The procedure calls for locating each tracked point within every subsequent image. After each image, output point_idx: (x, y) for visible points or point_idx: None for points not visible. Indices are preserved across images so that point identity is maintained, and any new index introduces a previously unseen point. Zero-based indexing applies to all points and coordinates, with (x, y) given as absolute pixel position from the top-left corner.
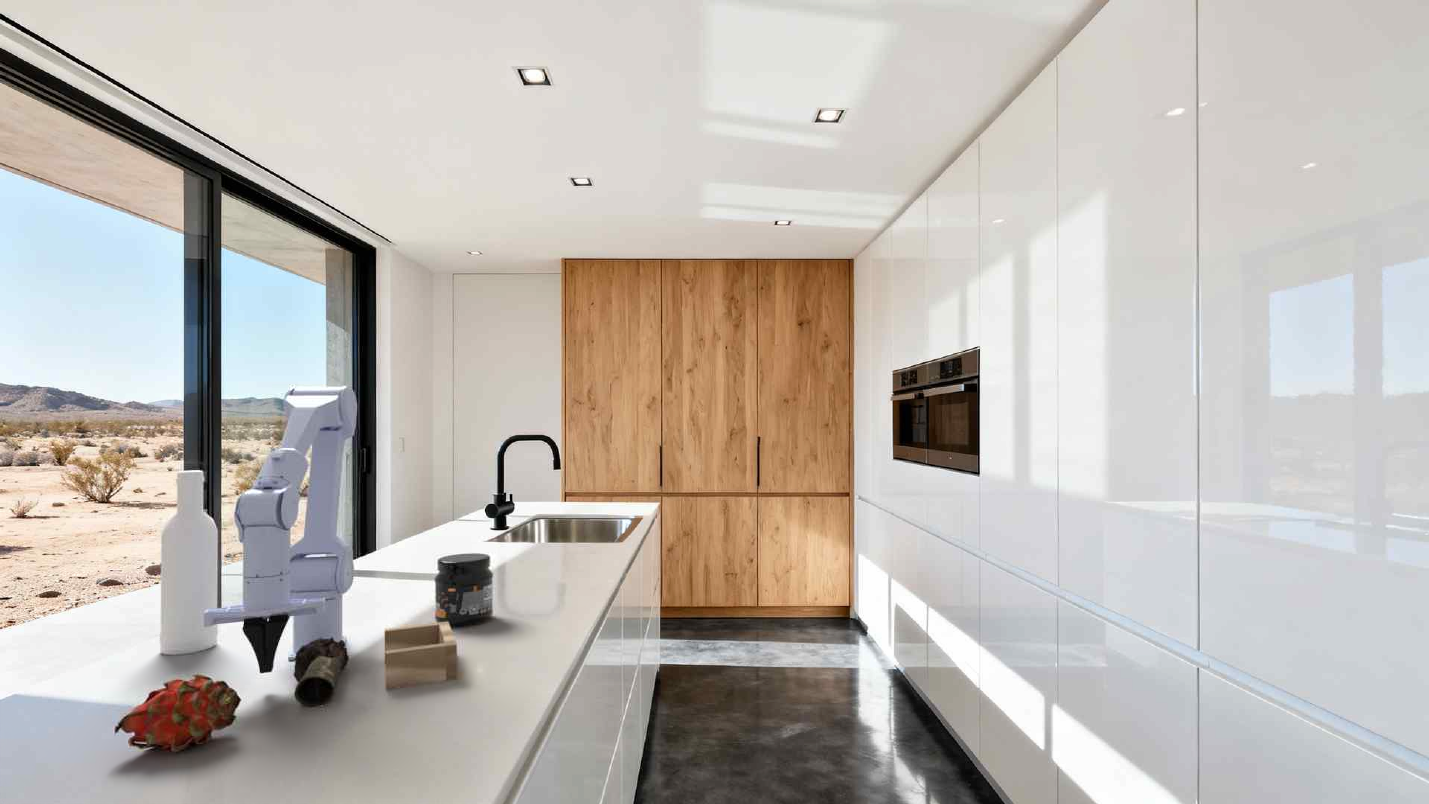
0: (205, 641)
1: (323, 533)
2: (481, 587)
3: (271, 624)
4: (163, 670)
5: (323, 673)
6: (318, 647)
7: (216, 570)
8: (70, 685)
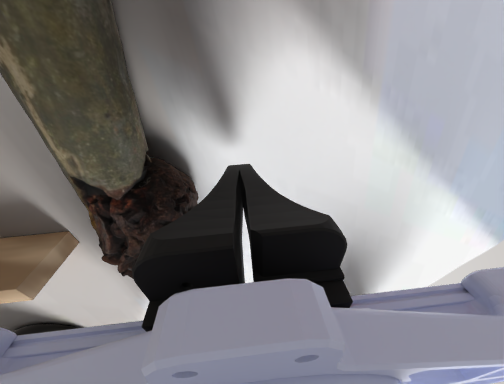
0: None
1: None
2: None
3: (200, 247)
4: (370, 271)
5: None
6: (132, 233)
7: None
8: (454, 255)
